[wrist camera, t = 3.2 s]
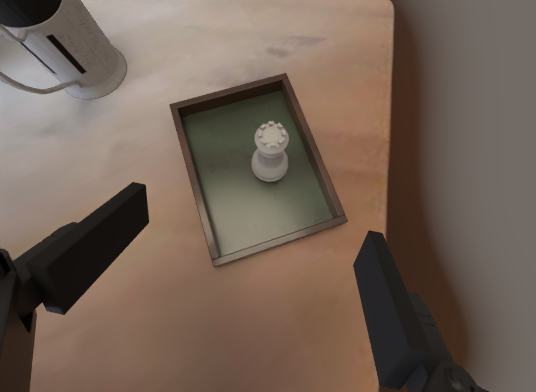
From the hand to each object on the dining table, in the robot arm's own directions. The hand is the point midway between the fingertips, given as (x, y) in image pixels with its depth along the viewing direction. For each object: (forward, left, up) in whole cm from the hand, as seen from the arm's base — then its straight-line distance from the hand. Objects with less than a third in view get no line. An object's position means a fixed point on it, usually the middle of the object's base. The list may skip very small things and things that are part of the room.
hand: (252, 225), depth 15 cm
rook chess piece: (-8, +4, -14) cm, 17 cm away
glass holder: (-26, -14, -14) cm, 33 cm away
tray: (-9, +3, -14) cm, 17 cm away
